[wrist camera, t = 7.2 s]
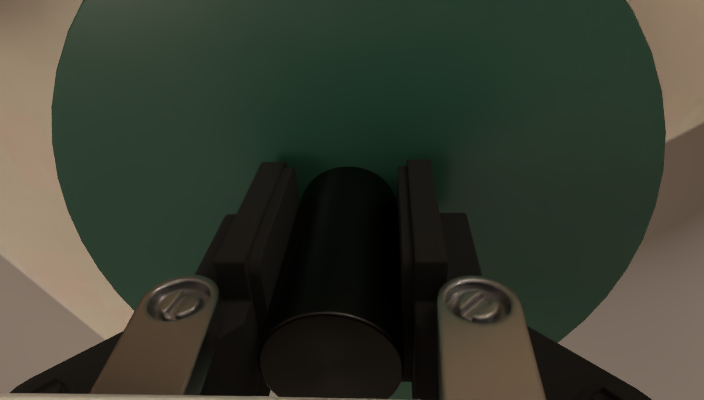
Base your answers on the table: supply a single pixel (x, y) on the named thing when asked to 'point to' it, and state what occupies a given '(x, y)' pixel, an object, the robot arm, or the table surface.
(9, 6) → the table surface
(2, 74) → the table surface
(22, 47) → the table surface
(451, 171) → the lid
